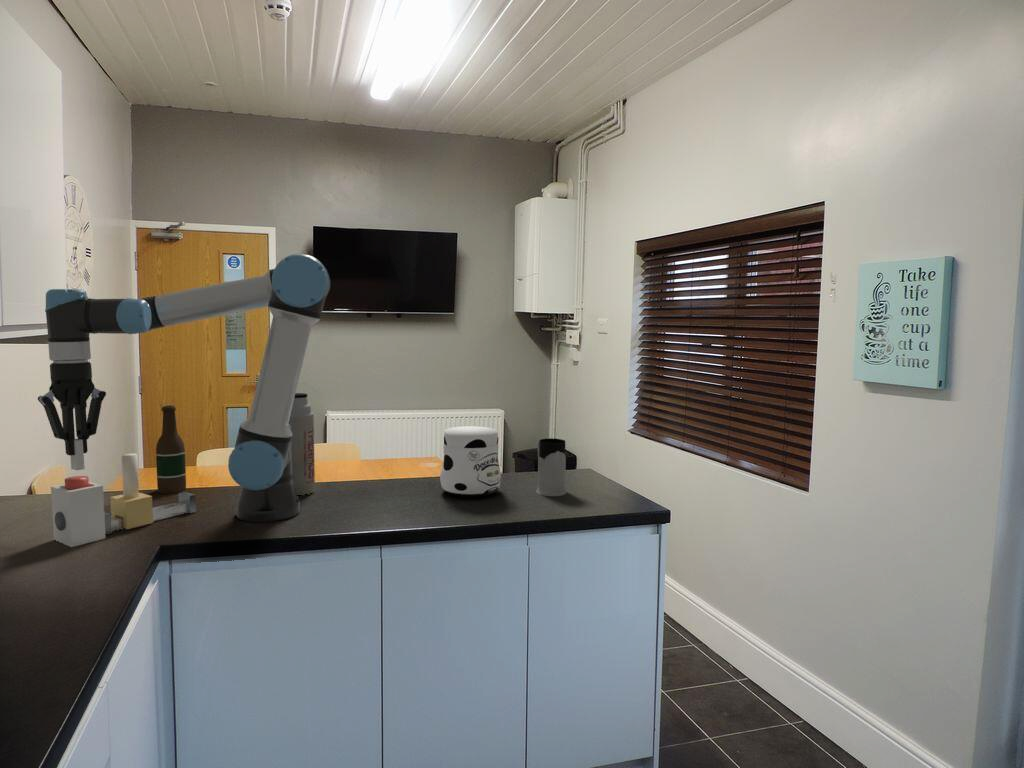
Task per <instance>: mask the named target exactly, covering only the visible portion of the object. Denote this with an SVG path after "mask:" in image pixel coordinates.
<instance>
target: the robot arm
mask: <svg viewBox="0 0 1024 768" xmlns="http://www.w3.org/2000/svg"><path fill="white" fill-rule="evenodd" d="M330 290H331V278H330V274H329V271H328V269H326V266H324V264H323V263H322V262H321V261H320V260H319V259H318V258H316V257H314V256H312V255H309V254H303V253H295V254H293V253H292V254H290V255H288V256H286V257H283V259H281V260H280V261H279V262H278V263H277V264H276V266H275V267H274V268H272V269H269V270H267V272H266V273H265V274H263V275H256V276H253V277H247V278H243V279H237V280H231V281H227V282H221V283H216V284H210V285H207V286H206V285H205V286H202V287H195V288H189V289H185V290H180V291H175V292H169V293H163V294H159V295H155V296H154V295H152V296H147V297H142V298H131V297H130V298H90V297H89V298H88V294H87V291H86V290H84V289H80V288H79V289H73V288H71V289H66V288H53V289H52V288H51V289H49V290H47V291H46V293H45V309H44V312H45V317H46V318H45V319H46V327H47V329H46V330H47V338H48V339H47V344H48V357H49V358H48V359H49V360H50V361H52V362H51V363H50V364H49V373H50V381H51V383H50V386H49V388H48V389H49V390H48V392H46V393H45V394H44V395H39V396H38V397H37V401H38V402H39V404H41V405H42V406H43V409H44V411H45V414H46V417H47V420H48V423H49V424H50V425H49V426H50V428H51V431H52V434H53V437H54V438H56V439H59V440H63V441H64V446H65V454H66V455H67V456H70V470H74V471H81V470H85V468H86V467H85V456H84V454H87V453H88V449H89V448H88V440H89V439H90V436H94V435H96V434H97V429H98V425H99V419H100V413H101V408H102V403H103V401H104V399H105V397H106V396H107V392H106V391H103V390H101V389H98V388H96V386H95V384H94V383H93V369H92V362H90V359H91V358H92V354H91V341H90V339H91V338H90V334H95V335H96V334H113V335H114V334H116V335H117V334H120V335H121V334H127V335H137V334H145V333H147V332H150V331H152V330H156V329H162V328H165V327H171V326H175V325H179V324H180V325H181V324H185V323H186V324H187V323H190V322H191V323H192V322H195V321H200V320H206V319H212V318H217V317H222V316H226V315H231V314H232V315H233V314H237V313H238V314H239V313H242V312H248V311H252V310H257V309H258V310H259V309H262V308H268V310H269V312H270V314H271V315H272V319H271V324H270V327H269V332H268V337H267V340H266V341H267V342H266V345H265V348H264V353H263V357H262V360H261V361H262V362H261V366H260V370H259V375H258V378H257V383H256V386H255V391H254V395H253V400H252V404H251V408H250V413H249V417H248V418H247V419H245V420H244V421H243V422H241V423H240V425H239V429H238V432H237V435H236V442H235V446H234V448H233V449H232V451H231V453H230V454H229V457H228V464H227V465H228V466H227V467H228V472H229V475H230V477H231V478H232V480H233V481H234V482H235V484H237V485H239V486H240V487H242V488H241V492H240V494H239V499H238V501H237V504H236V514H235V515H236V518H238V519H239V520H241V521H242V520H243V521H245V522H255V523H259V522H260V523H264V522H275V521H280V520H286V519H288V518H289V519H290V518H292V517H294V516H297V515H298V514H300V512H301V501H300V500H299V496H297V493H296V490H295V487H294V485H293V481H292V441H291V439H292V432H291V426H290V425H289V424H288V422H289V418H290V414H291V409H292V405H293V401H294V397H295V393H296V392H297V388H298V383H299V379H300V376H301V371H302V368H303V363H304V359H305V355H306V350H307V347H308V342H309V337H310V334H311V330H312V326H313V325H314V324H316V323H318V322H320V321H321V318H322V313H323V310H324V305H325V301H326V298H327V296H328V295H329V292H330ZM90 397H91V399H90V402H89V409H88V414H87V407H88V406H87V404H88V403H87V401H88V399H89V398H90ZM54 398H55V399H56V401H58V402H59V406H60V409H61V419H62V421H61V419H60V416H59V413H58V409H57V407H56V405H55V403H54V402H55V399H54ZM74 417H75V419H74ZM75 430H76V431H75ZM75 432H76V434H75ZM76 437H77V438H76Z"/></svg>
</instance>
